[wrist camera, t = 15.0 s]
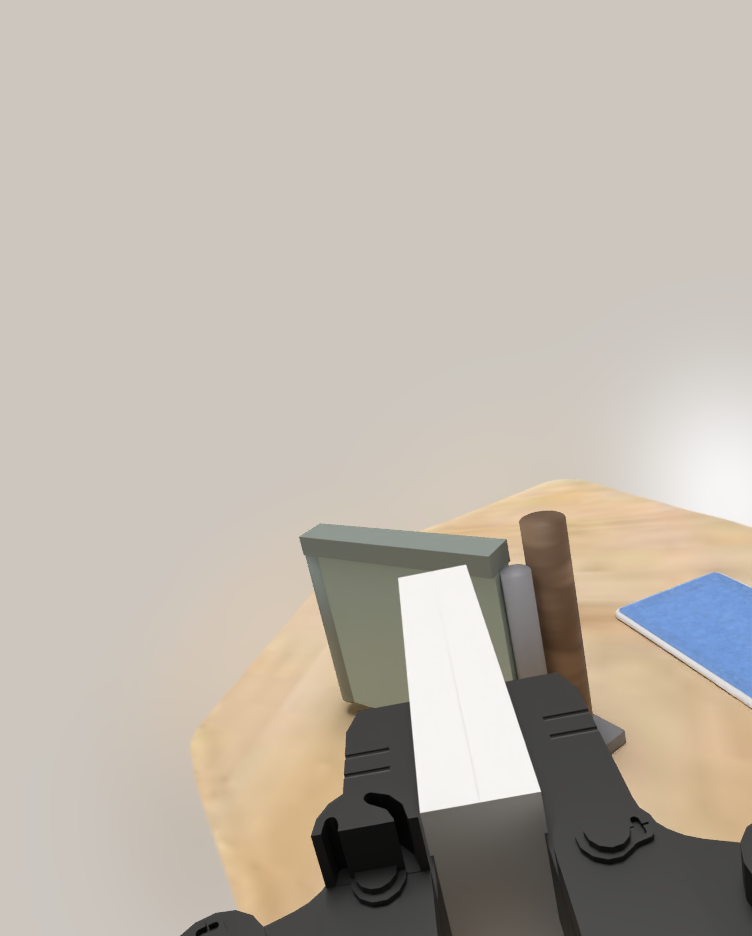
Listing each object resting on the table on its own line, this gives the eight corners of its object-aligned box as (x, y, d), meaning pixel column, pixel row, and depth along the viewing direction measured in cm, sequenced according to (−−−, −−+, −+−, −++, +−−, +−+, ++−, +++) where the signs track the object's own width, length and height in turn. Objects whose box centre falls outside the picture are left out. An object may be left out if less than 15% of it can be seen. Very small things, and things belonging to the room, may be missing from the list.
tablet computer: (919, 675, 49) (919, 660, 49) (785, 738, 46) (784, 723, 46) (716, 580, 67) (716, 568, 67) (611, 621, 64) (609, 609, 64)
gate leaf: (564, 740, 47) (534, 541, 43) (550, 764, 46) (517, 559, 41) (354, 682, 60) (314, 523, 55) (335, 699, 58) (292, 536, 53)
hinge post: (571, 712, 52) (540, 500, 47) (625, 741, 48) (597, 513, 43) (526, 745, 50) (488, 525, 45) (579, 779, 46) (544, 542, 41)
